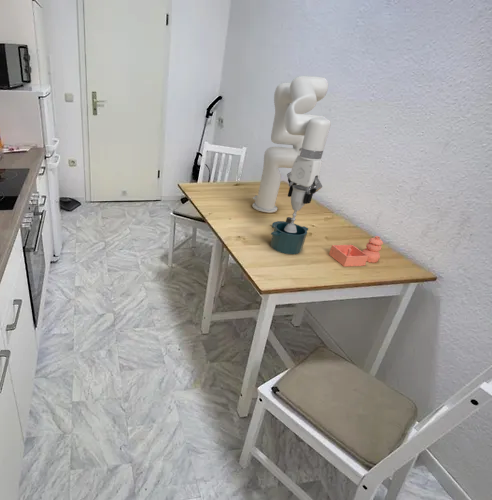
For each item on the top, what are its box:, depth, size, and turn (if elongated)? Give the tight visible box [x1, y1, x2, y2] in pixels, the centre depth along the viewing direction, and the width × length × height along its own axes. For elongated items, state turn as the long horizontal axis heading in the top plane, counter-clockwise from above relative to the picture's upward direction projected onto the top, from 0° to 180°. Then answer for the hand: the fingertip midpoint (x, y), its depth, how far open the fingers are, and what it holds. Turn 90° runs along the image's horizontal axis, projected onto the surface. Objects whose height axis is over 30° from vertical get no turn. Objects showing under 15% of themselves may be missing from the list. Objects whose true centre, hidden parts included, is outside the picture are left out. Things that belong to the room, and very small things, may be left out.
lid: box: [271, 216, 298, 229], centre depth 165 cm, size 13×13×6 cm
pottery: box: [328, 235, 384, 267], centre depth 141 cm, size 18×10×10 cm, turn 99°
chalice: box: [284, 184, 311, 233], centre depth 142 cm, size 7×7×18 cm
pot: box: [269, 222, 309, 255], centre depth 148 cm, size 12×18×8 cm
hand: (298, 199), depth 140 cm, fingers closed on chalice, 7 cm apart
